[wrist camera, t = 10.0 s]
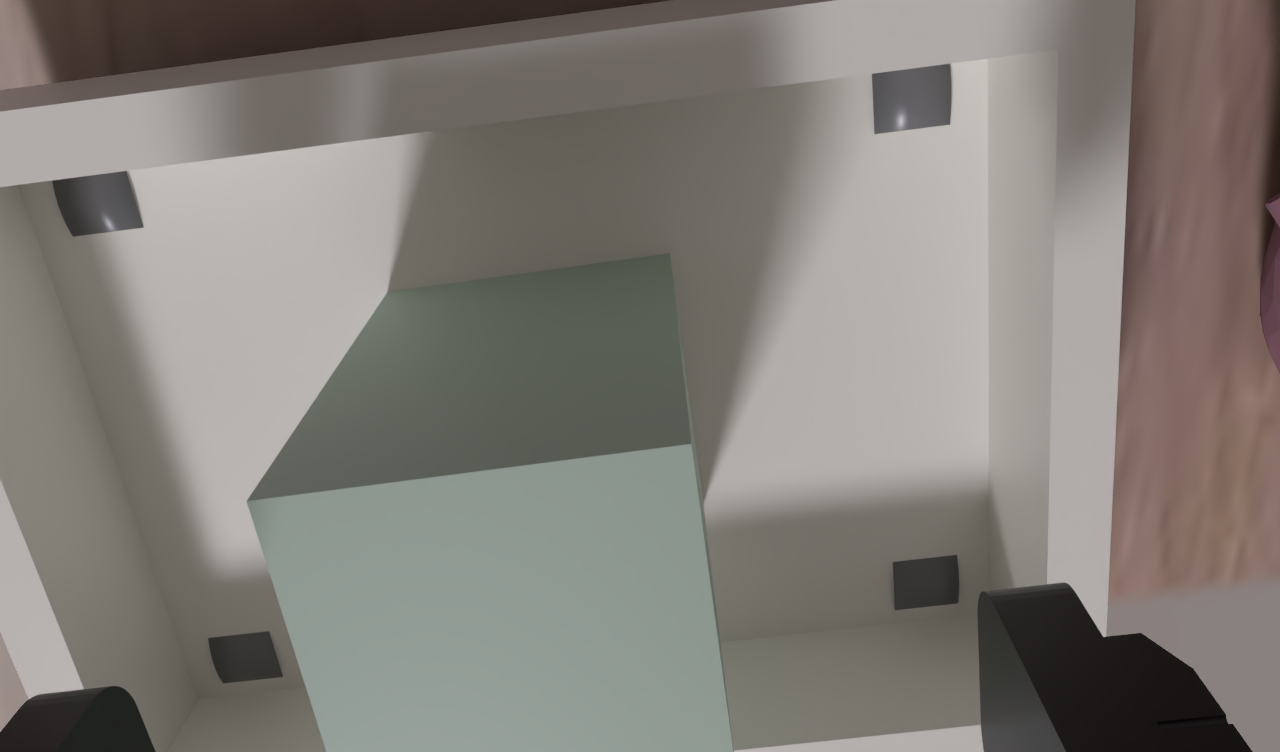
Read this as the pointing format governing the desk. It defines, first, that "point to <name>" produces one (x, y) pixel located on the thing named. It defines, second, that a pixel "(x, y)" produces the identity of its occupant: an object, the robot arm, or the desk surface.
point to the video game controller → (1272, 285)
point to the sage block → (503, 525)
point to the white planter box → (572, 236)
